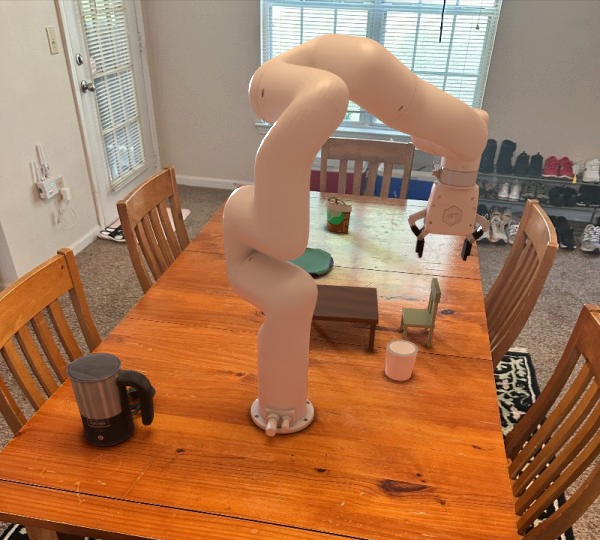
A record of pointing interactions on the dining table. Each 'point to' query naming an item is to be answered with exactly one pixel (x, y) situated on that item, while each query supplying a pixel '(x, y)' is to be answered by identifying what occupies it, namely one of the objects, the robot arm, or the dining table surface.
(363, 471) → the dining table surface
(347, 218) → the food container
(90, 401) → the milk frother
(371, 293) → the model table
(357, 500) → the dining table surface
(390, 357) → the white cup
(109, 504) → the dining table surface
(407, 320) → the chair
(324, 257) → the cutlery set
